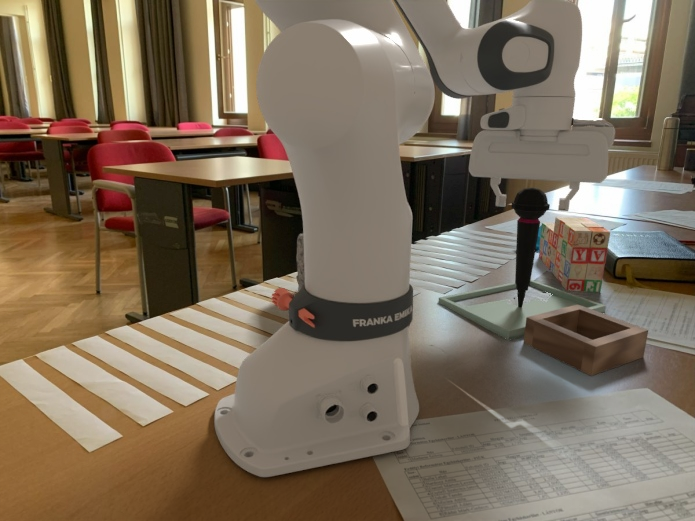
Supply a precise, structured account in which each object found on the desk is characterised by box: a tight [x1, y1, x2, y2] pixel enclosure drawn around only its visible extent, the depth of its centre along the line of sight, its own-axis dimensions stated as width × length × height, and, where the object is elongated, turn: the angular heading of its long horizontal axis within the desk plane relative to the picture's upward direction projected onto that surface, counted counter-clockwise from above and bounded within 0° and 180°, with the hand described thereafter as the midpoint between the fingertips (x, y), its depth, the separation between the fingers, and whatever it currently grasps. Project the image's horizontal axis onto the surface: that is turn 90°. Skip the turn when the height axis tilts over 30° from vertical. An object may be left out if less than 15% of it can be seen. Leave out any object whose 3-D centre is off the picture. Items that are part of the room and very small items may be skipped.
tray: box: [437, 279, 607, 341], centre depth 86 cm, size 22×16×2 cm
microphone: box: [511, 187, 550, 307], centre depth 84 cm, size 6×6×20 cm
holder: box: [523, 304, 649, 377], centre depth 72 cm, size 11×11×4 cm
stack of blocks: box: [538, 216, 611, 293], centre depth 103 cm, size 21×6×12 cm, turn 174°
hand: (531, 208), depth 82 cm, fingers open, 8 cm apart
